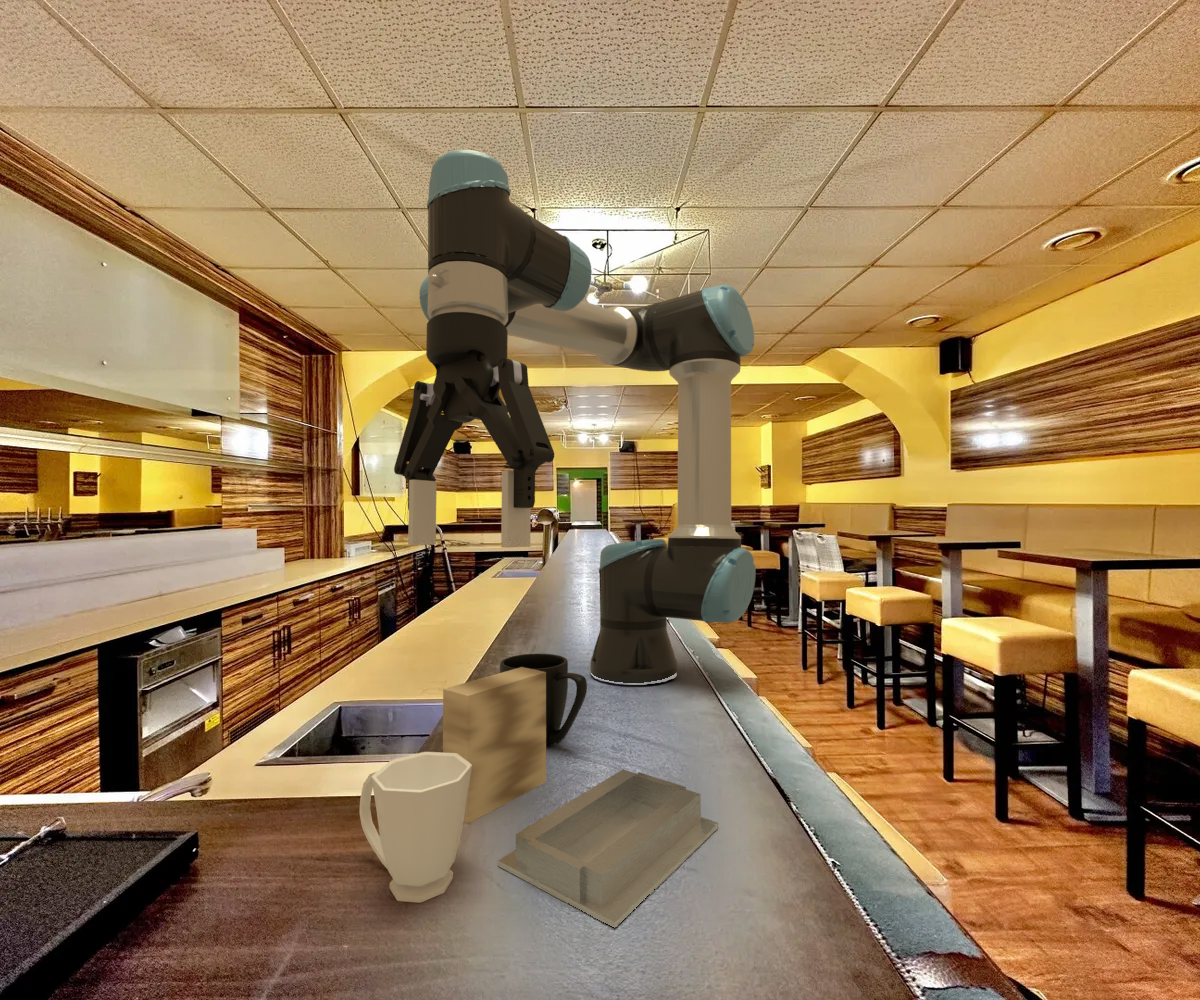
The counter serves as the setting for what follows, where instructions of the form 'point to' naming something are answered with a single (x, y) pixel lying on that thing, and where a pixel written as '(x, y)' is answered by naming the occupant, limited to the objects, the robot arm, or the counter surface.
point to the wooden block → (498, 736)
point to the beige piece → (611, 844)
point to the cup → (417, 820)
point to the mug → (552, 690)
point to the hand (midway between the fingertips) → (465, 546)
